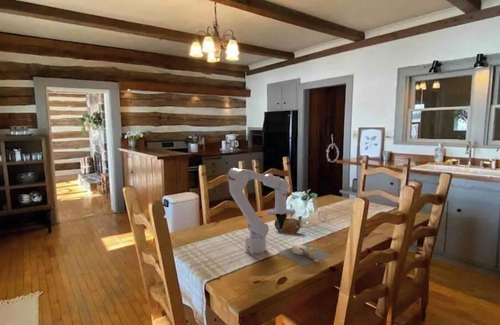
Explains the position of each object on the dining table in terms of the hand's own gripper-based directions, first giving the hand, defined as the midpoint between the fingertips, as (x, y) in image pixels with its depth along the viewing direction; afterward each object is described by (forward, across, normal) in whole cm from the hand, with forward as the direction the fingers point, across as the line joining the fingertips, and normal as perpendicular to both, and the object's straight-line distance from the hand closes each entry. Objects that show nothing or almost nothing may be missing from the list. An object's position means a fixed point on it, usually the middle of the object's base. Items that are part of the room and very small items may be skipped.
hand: (280, 228), depth 153 cm
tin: (+10, +7, +20) cm, 23 cm away
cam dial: (+8, +8, -15) cm, 19 cm away
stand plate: (+9, +9, -14) cm, 19 cm away
